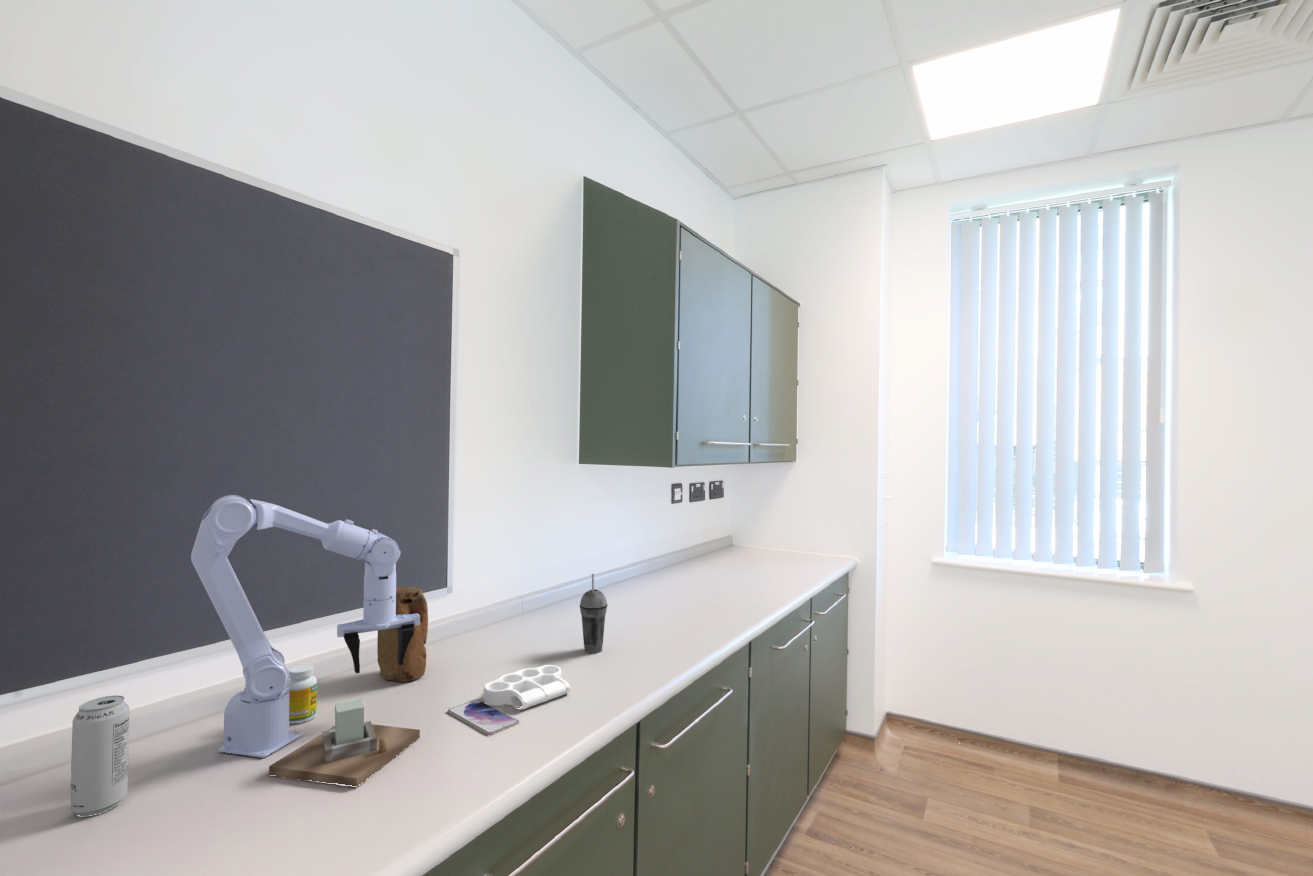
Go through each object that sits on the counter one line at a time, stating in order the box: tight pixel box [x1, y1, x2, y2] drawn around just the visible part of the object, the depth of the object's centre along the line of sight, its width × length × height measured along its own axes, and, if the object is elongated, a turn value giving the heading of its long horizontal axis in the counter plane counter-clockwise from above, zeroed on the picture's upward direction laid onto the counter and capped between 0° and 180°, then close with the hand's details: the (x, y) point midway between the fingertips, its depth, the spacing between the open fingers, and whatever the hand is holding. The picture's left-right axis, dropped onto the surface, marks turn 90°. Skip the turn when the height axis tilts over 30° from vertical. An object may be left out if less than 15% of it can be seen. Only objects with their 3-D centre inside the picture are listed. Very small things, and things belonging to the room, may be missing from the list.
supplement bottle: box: [288, 664, 318, 725], centre depth 113 cm, size 5×5×10 cm
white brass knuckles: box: [483, 664, 571, 711], centre depth 125 cm, size 3×18×15 cm
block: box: [376, 585, 429, 683], centre depth 135 cm, size 11×8×20 cm
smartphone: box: [447, 699, 520, 736], centre depth 114 cm, size 7×1×15 cm
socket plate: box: [268, 720, 421, 786], centre depth 100 cm, size 16×16×4 cm
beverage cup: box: [579, 573, 608, 654], centre depth 152 cm, size 7×7×20 cm
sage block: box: [334, 698, 365, 745], centre depth 100 cm, size 4×4×7 cm
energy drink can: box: [69, 694, 130, 816], centre depth 85 cm, size 6×6×15 cm
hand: (379, 667), depth 114 cm, fingers open, 7 cm apart
